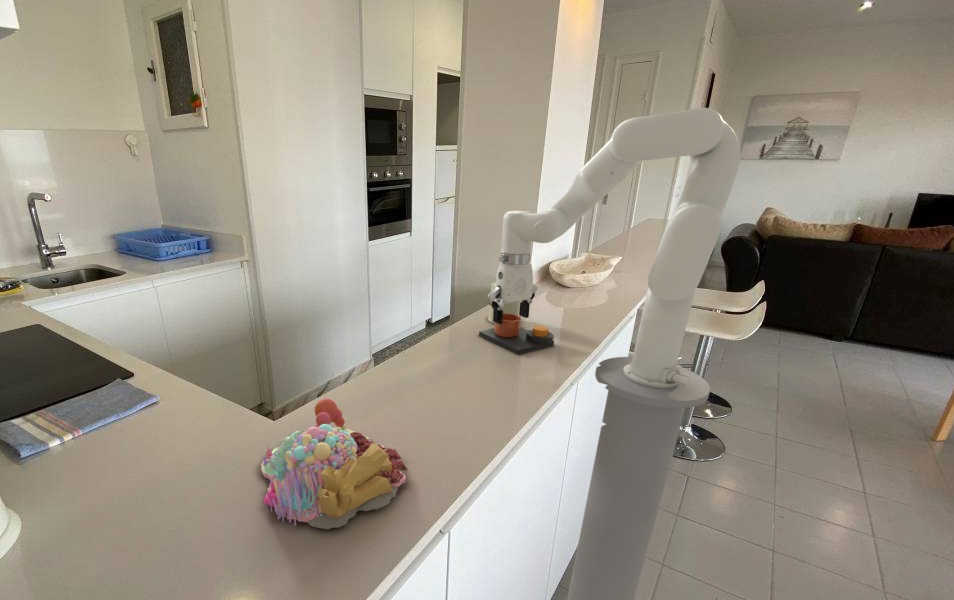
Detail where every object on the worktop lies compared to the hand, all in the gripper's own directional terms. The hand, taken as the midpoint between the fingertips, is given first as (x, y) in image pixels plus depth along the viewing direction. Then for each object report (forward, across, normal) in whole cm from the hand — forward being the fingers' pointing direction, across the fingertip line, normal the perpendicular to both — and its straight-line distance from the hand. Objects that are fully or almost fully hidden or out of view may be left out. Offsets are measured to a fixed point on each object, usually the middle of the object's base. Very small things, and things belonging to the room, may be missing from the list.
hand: (510, 319), depth 134 cm
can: (+6, +10, +13) cm, 17 cm away
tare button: (+3, +5, -7) cm, 9 cm away
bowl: (+4, 0, +1) cm, 4 cm away
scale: (+6, +1, -2) cm, 6 cm away
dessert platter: (+6, -69, -32) cm, 77 cm away
